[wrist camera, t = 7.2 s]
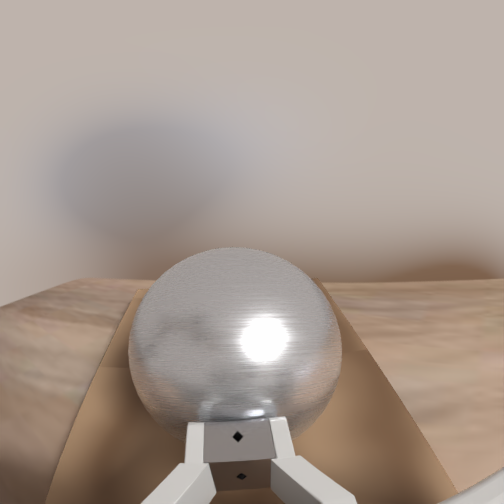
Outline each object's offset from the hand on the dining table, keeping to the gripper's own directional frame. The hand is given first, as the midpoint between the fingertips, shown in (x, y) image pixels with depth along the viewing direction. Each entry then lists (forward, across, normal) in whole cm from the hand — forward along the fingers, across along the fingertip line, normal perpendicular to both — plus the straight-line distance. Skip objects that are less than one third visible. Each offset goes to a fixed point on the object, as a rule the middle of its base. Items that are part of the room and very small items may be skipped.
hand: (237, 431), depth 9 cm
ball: (+4, 0, 0) cm, 5 cm away
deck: (+9, 0, +7) cm, 12 cm away
